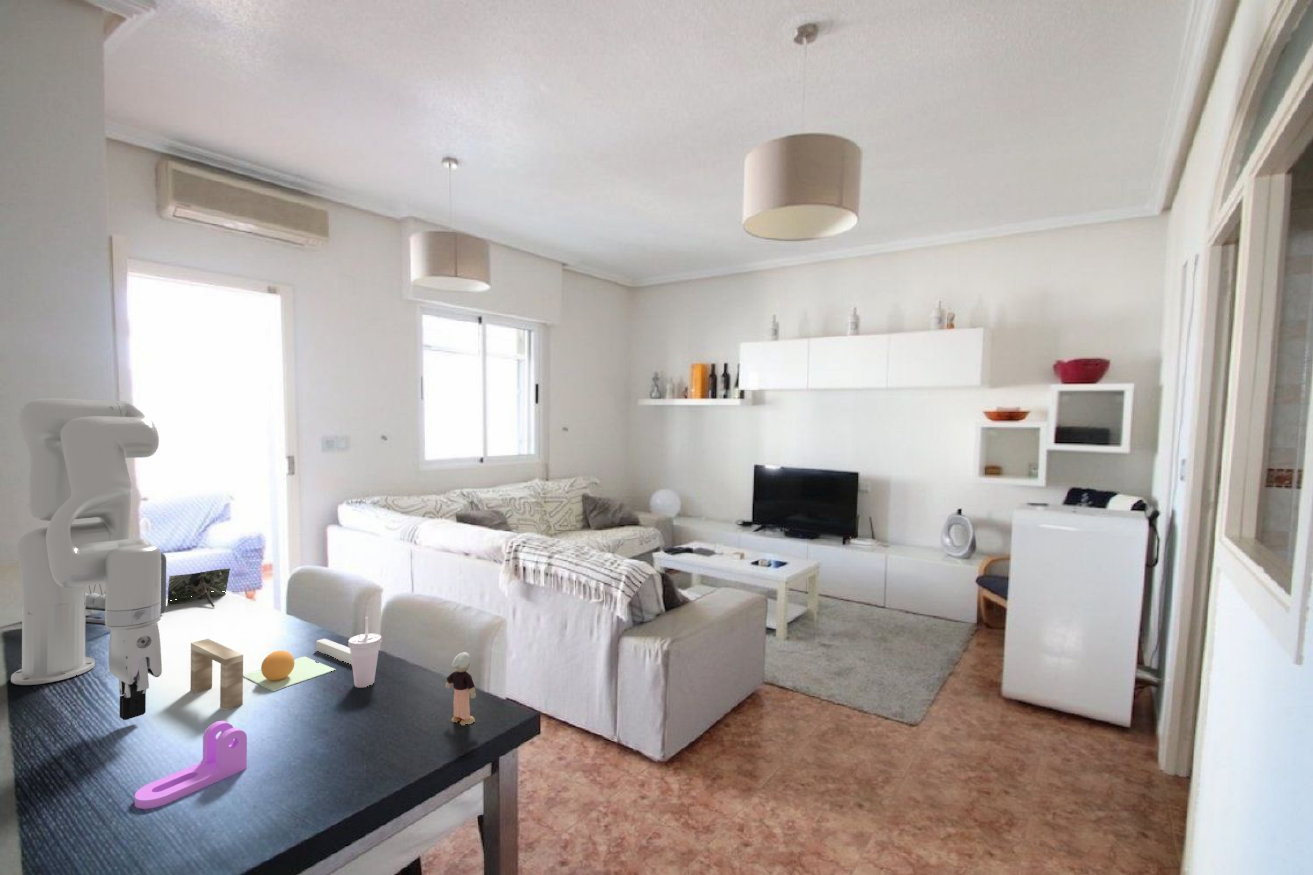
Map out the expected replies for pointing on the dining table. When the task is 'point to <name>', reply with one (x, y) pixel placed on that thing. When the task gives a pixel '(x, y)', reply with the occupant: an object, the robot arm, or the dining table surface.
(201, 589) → the dark piece
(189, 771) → the bracket
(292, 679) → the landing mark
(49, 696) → the dining table surface
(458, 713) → the grandmother figurine
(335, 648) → the wall
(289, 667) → the ball
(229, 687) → the bridge
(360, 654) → the smoothie
